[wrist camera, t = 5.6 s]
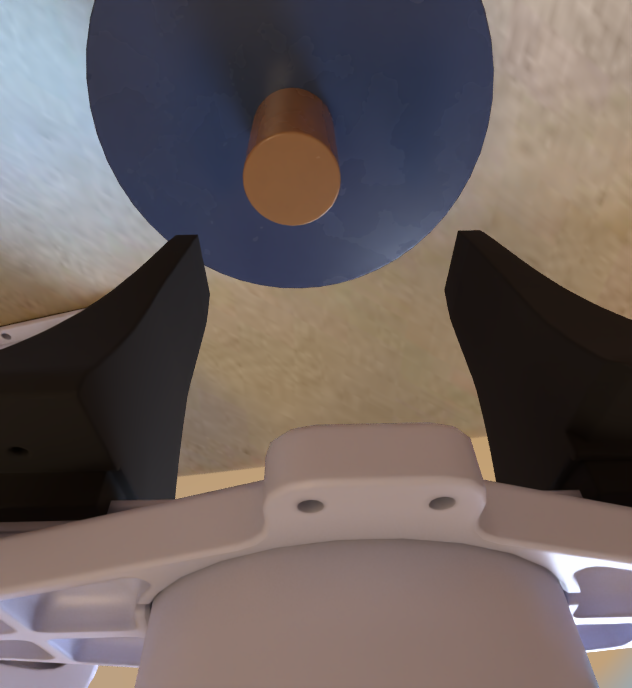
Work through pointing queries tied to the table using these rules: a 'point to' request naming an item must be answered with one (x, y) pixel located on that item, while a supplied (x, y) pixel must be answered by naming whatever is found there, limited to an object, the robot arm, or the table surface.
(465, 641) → the robot arm
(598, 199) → the table surface
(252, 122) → the lid
